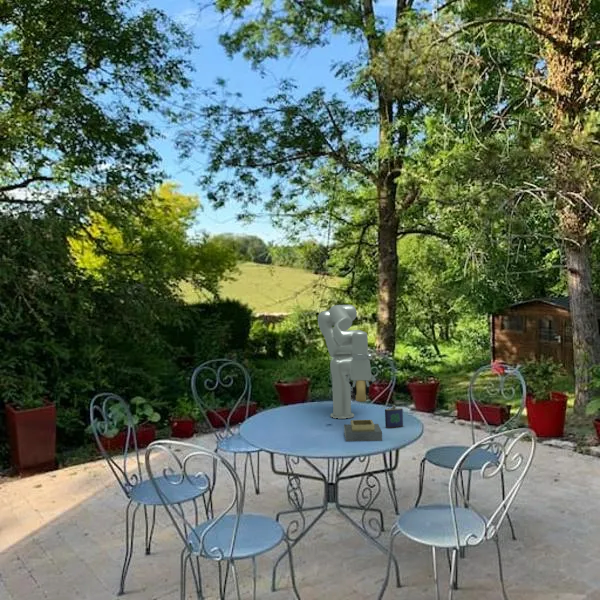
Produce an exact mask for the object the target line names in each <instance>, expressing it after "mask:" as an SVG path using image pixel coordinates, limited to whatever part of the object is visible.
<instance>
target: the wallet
mask: <svg viewBox="0 0 600 600" xmlns="http://www.w3.org/2000/svg"><path fill="white" fill-rule="evenodd" d="M403 409H404V408H402V407H397V406H396V405H395V404H394V405H392V407H390V408H389V407H387V408H386V409H384V415H385V416H384V417H385V418H384V421H385V422H384V423H385V429H395V428H396V427H397V428H402V427H404V415H403V414H404V411H403Z"/></svg>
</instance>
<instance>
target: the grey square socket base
mask: <svg viewBox="0 0 600 600" xmlns="http://www.w3.org/2000/svg"><path fill="white" fill-rule="evenodd" d="M343 434H344V438H346V439H345V442H372V441H373V442H375V441H376V442H377V441H379V442H380V441H383V430H382V429H381V427H380V425H379V423H374V421H373V419H350V424H344V425H343Z"/></svg>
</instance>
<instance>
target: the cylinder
mask: <svg viewBox="0 0 600 600" xmlns="http://www.w3.org/2000/svg"><path fill="white" fill-rule="evenodd" d="M355 386H356V395H355V402H359V403H361V402H366V401H367V395H366V381H356V384H355Z"/></svg>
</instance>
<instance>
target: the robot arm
mask: <svg viewBox="0 0 600 600" xmlns="http://www.w3.org/2000/svg"><path fill="white" fill-rule="evenodd" d="M357 313H358V312H357V309H356V307H355V306H354V305H353V304H336V305H335V304H334V305H332V306H331V307H330V308H329V310H324V311H321V312H320V313H318V316H317V325H318V328H319V330H320V332H321V334H322V336H323V337H324V340H325V344H326V348H327V351H328V353H329V356H330V357H331V358H332V359H331V360H330V364H329V366H330V367H329V368H330V373H331V379H332V381H331V382H332V383H331V384H332V406H333V407H332V411H333V412H331V413H330V415H329V416H330V418H332V417H333V418H332V419H336V418H338V420H347V419H346V418H348V419H353V418H354V417H355V413H353V412H352V401H351V400H352V397H351V391H352V394H353V395H354V396H356V381H366V396H368V395H369V393H370V386H372V384H373V383H374V382H376V380H377V379H376V377H375V376H374V375H373V374H372V367H371V361H370V358H372V354H369V350H368V349H369V347H368V346H369V345H368V343H369V342H368V333H367V332H366V331H363V330H360V329H357V330H356V329H353V330H352V329H351V330H349V329H350V328H351V327H352V325H353V321H354V320H355V319H356V317H357ZM351 387H352V390H351Z"/></svg>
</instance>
